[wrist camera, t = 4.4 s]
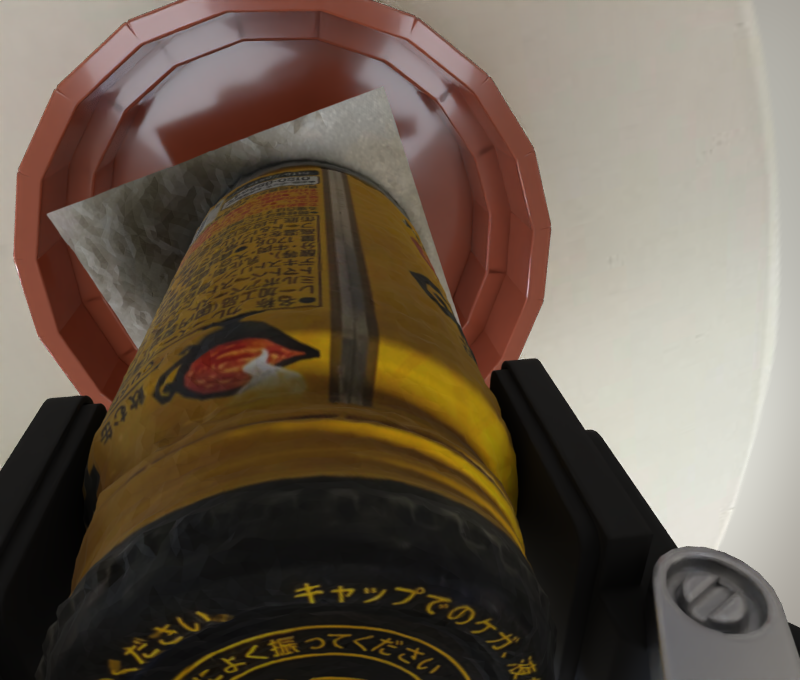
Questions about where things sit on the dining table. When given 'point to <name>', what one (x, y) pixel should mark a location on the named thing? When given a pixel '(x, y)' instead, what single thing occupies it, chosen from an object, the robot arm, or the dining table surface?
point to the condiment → (293, 431)
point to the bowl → (263, 109)
